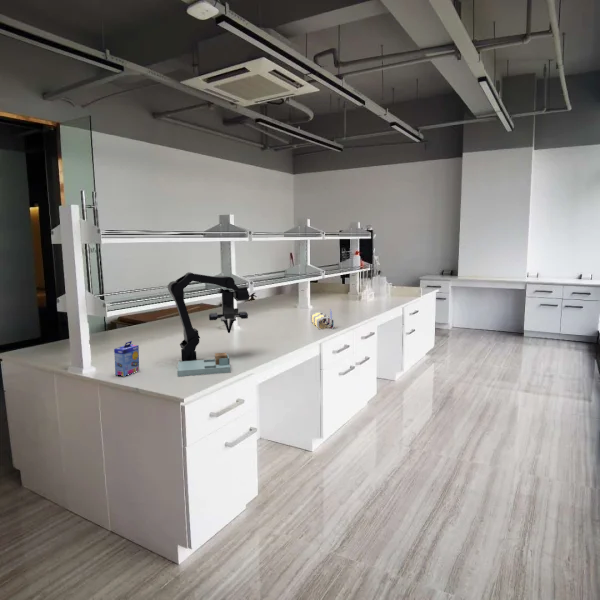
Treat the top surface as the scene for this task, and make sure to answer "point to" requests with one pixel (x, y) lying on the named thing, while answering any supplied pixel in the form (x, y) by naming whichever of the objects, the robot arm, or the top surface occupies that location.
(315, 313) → the diorama
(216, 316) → the robot arm
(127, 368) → the ink cartridge box
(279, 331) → the top surface
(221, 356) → the walnut block
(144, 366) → the top surface
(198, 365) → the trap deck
